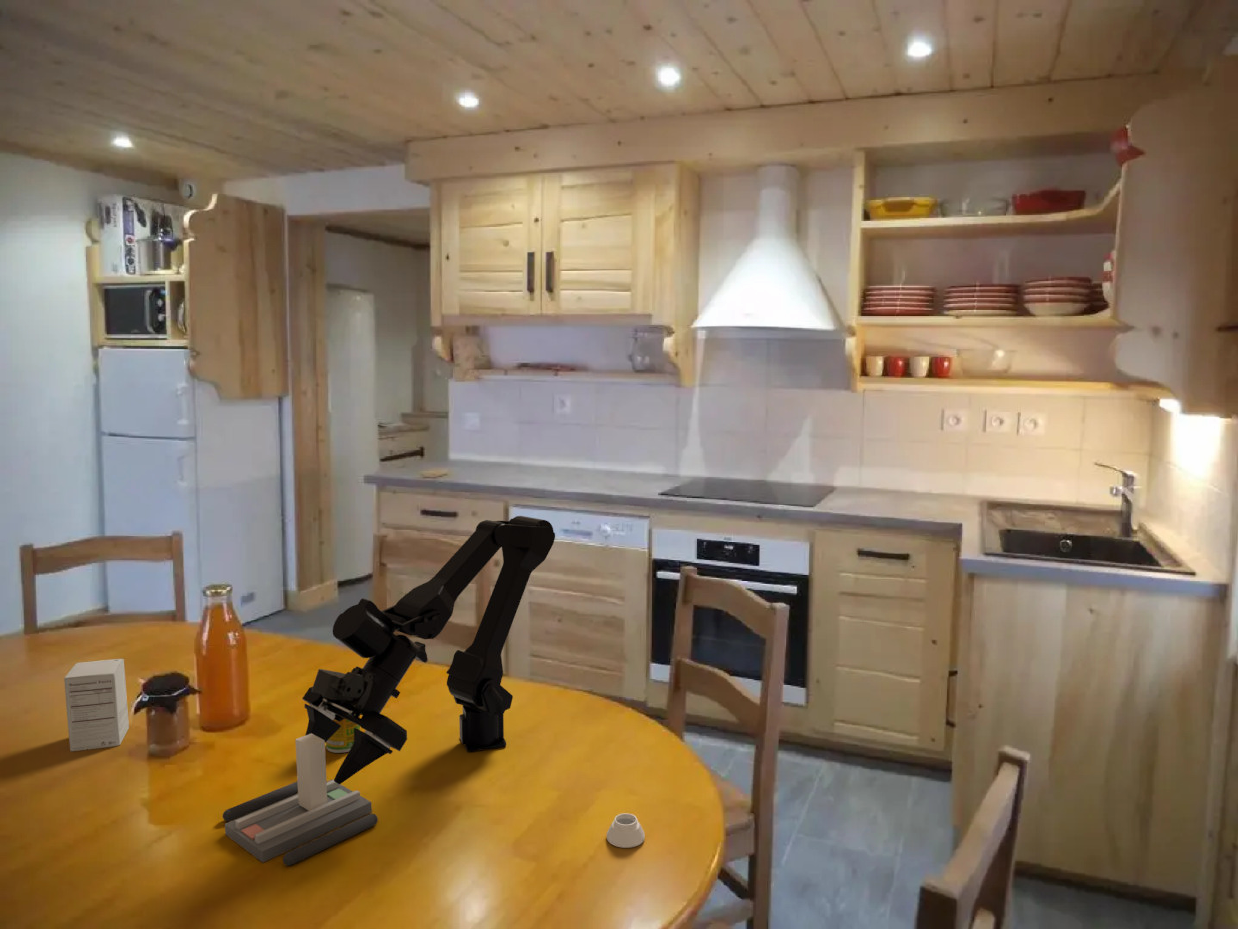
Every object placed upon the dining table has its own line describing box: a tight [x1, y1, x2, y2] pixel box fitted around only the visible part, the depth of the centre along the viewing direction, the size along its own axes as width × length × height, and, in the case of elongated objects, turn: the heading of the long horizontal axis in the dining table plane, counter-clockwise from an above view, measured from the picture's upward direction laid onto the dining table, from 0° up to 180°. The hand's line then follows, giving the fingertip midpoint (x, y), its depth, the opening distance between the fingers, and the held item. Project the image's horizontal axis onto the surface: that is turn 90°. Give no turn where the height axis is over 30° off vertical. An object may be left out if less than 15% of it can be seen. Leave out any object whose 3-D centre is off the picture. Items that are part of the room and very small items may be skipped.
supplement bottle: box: [325, 711, 361, 754], centre depth 141 cm, size 5×5×10 cm
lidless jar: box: [606, 812, 646, 849], centre depth 115 cm, size 5×3×5 cm
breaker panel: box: [224, 779, 373, 863], centre depth 118 cm, size 16×10×2 cm, turn 140°
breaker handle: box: [295, 733, 327, 811], centre depth 119 cm, size 2×3×10 cm
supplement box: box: [63, 658, 130, 752], centre depth 143 cm, size 7×7×13 cm
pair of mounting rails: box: [222, 781, 379, 867], centre depth 118 cm, size 14×18×2 cm
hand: (318, 772), depth 120 cm, fingers open, 9 cm apart
